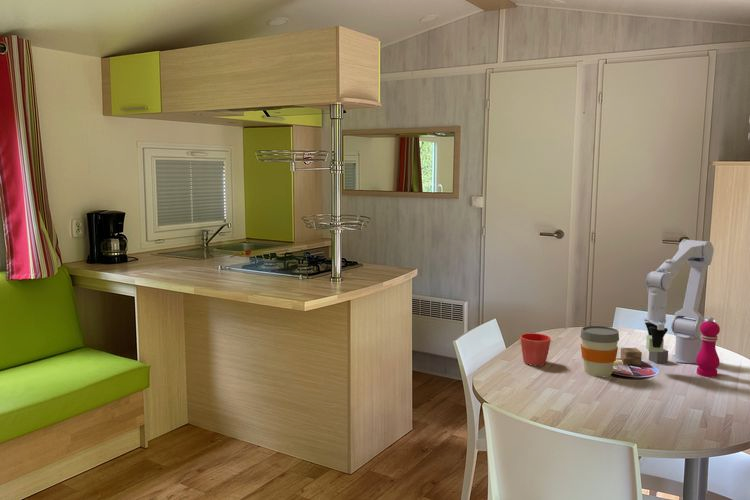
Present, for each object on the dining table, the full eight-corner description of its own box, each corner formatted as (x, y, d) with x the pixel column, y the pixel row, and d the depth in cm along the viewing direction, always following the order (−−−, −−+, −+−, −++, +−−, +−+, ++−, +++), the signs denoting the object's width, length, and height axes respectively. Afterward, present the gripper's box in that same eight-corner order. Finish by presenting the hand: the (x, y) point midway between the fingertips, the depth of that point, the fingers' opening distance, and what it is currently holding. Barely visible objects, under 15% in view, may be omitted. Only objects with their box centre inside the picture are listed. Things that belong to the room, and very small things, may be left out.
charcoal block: (659, 359, 234) (660, 347, 234) (667, 363, 230) (668, 350, 229) (648, 360, 233) (649, 348, 233) (656, 363, 229) (657, 351, 228)
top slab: (635, 354, 233) (636, 347, 233) (641, 359, 227) (641, 352, 227) (620, 354, 233) (620, 347, 233) (625, 359, 228) (626, 352, 227)
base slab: (637, 361, 233) (638, 354, 233) (641, 366, 227) (641, 359, 227) (620, 360, 234) (620, 353, 234) (623, 365, 228) (623, 358, 228)
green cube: (659, 348, 221) (660, 335, 220) (663, 352, 216) (663, 339, 216) (646, 347, 222) (646, 335, 221) (648, 351, 217) (649, 338, 217)
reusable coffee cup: (575, 375, 217) (577, 332, 215) (582, 364, 228) (584, 323, 226) (614, 380, 211) (616, 336, 209) (619, 369, 222) (621, 328, 220)
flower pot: (547, 358, 236) (547, 333, 234) (552, 367, 225) (553, 341, 224) (517, 357, 237) (518, 332, 235) (521, 367, 226) (522, 340, 225)
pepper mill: (721, 378, 213) (725, 319, 210) (698, 376, 215) (702, 319, 212) (714, 371, 220) (718, 314, 217) (692, 370, 222) (695, 314, 219)
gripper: (640, 301, 225) (638, 339, 227) (649, 310, 211) (647, 350, 213) (661, 302, 223) (659, 340, 225) (672, 311, 209) (669, 351, 211)
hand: (654, 345), depth 219 cm, fingers closed on green cube, 4 cm apart
